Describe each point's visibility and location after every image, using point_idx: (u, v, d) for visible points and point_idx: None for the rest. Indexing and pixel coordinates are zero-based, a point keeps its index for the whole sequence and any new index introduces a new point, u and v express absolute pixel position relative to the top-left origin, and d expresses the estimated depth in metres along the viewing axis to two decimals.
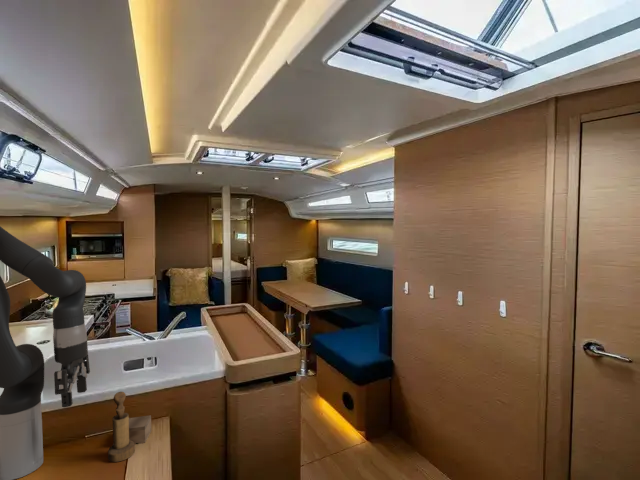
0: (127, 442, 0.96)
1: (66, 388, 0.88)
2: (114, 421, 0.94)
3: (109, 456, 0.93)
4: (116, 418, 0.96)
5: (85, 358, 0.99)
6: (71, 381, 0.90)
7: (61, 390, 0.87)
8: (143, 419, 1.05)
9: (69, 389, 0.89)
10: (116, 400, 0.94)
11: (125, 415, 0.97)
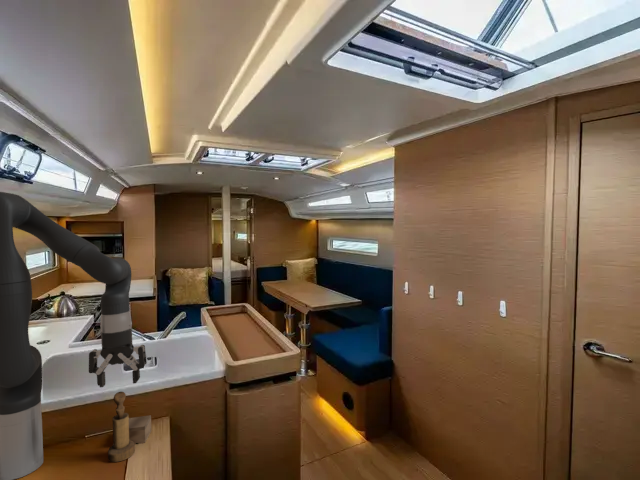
0: (127, 442, 0.96)
1: None
2: (114, 421, 0.94)
3: (109, 456, 0.93)
4: (116, 418, 0.96)
5: None
6: (134, 358, 0.98)
7: (144, 362, 0.97)
8: (143, 419, 1.05)
9: None
10: (116, 400, 0.94)
11: (125, 415, 0.97)
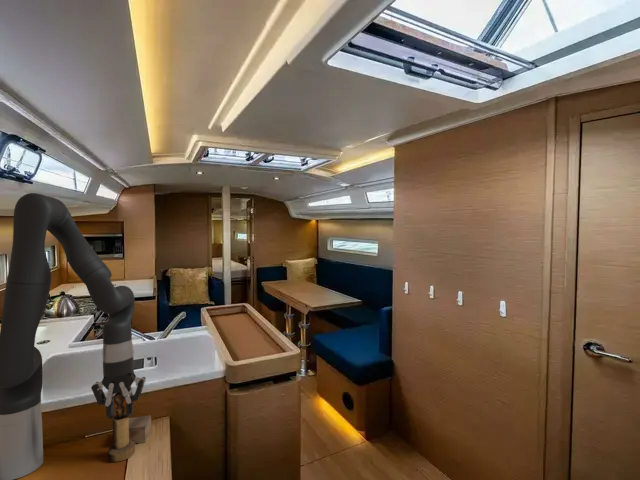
0: (127, 442, 0.96)
1: None
2: (114, 421, 0.94)
3: (109, 456, 0.93)
4: (116, 418, 0.96)
5: None
6: (131, 390, 0.98)
7: None
8: (143, 419, 1.05)
9: None
10: (116, 400, 0.94)
11: (125, 415, 0.97)
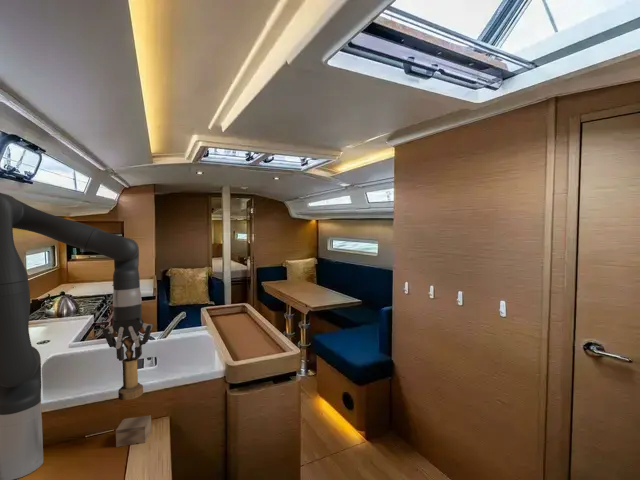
0: (136, 383, 1.02)
1: None
2: (124, 363, 1.00)
3: (119, 395, 1.00)
4: (125, 361, 1.02)
5: None
6: (140, 335, 1.04)
7: None
8: (143, 419, 1.05)
9: None
10: (125, 343, 1.01)
11: (134, 359, 1.03)
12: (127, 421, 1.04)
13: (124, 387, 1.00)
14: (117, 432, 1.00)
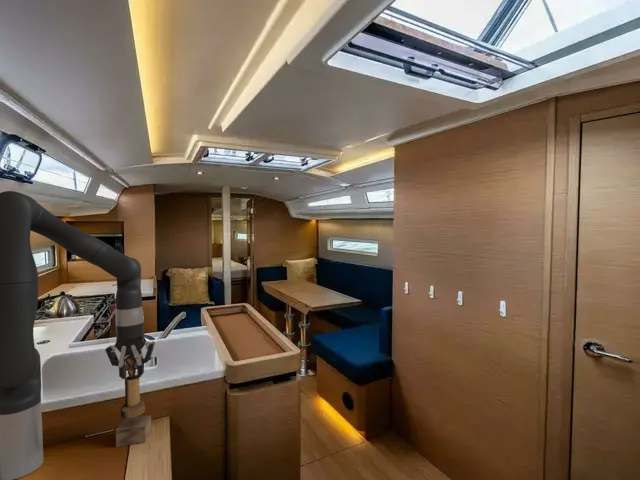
0: (138, 401, 1.03)
1: None
2: (126, 381, 1.02)
3: (122, 413, 1.01)
4: (128, 379, 1.04)
5: None
6: (142, 353, 1.05)
7: None
8: (143, 419, 1.05)
9: None
10: (128, 362, 1.02)
11: (136, 377, 1.05)
12: (127, 421, 1.04)
13: (126, 405, 1.02)
14: (117, 432, 1.00)
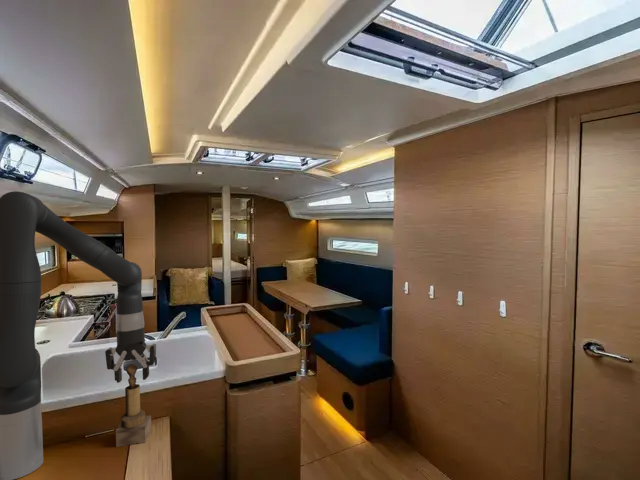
0: (138, 410, 1.03)
1: None
2: (127, 390, 1.02)
3: (122, 423, 1.01)
4: (128, 388, 1.04)
5: None
6: (145, 356, 1.05)
7: (153, 360, 1.05)
8: None
9: None
10: (128, 371, 1.02)
11: (136, 386, 1.05)
12: None
13: (127, 415, 1.02)
14: (117, 432, 1.00)
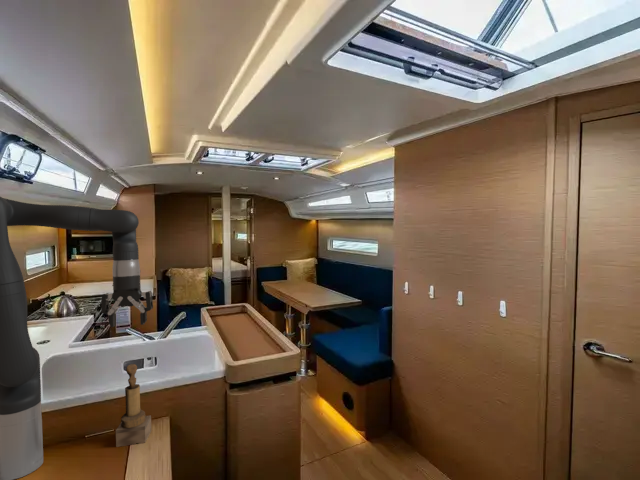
0: (138, 410, 1.03)
1: None
2: (127, 391, 1.02)
3: (122, 423, 1.01)
4: (128, 388, 1.04)
5: None
6: (142, 303, 1.08)
7: (151, 306, 1.07)
8: None
9: None
10: (128, 371, 1.02)
11: (136, 386, 1.05)
12: None
13: (127, 415, 1.02)
14: (117, 432, 1.00)
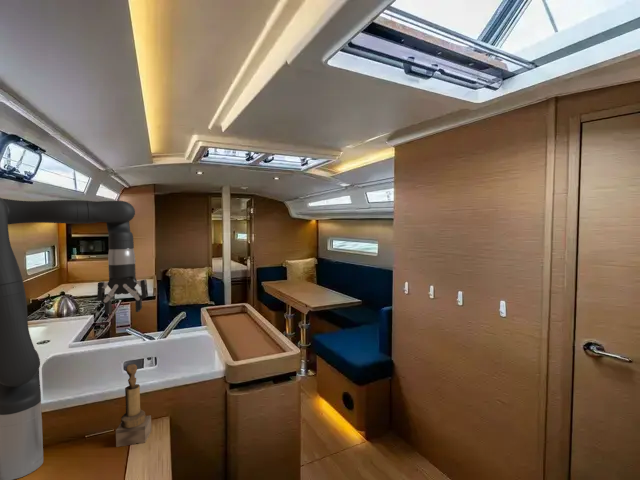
0: (138, 410, 1.03)
1: None
2: (127, 391, 1.02)
3: (122, 423, 1.01)
4: (128, 388, 1.04)
5: None
6: (137, 291, 1.11)
7: (146, 294, 1.11)
8: None
9: None
10: (128, 371, 1.02)
11: (136, 386, 1.05)
12: None
13: (127, 415, 1.02)
14: (117, 432, 1.00)
